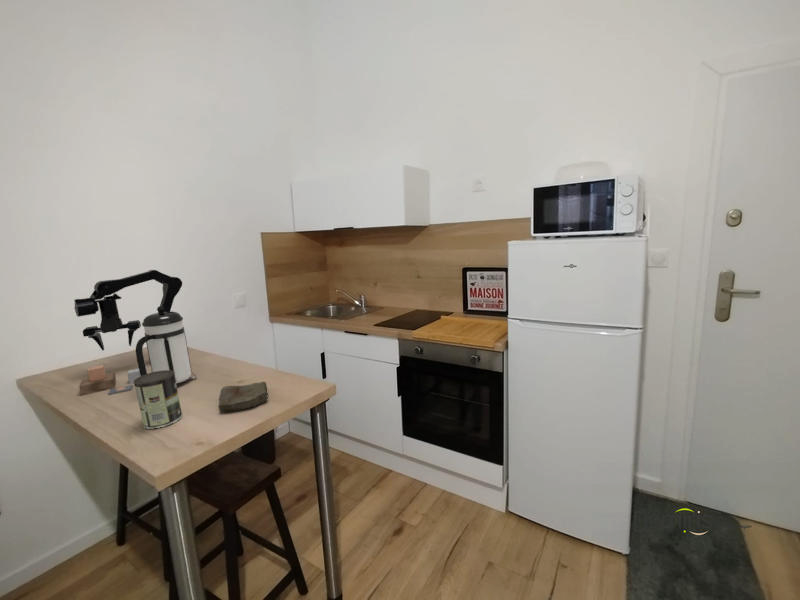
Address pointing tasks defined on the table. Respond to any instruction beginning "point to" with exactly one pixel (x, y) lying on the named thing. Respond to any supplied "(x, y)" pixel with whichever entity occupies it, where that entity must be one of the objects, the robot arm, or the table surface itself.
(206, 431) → the table surface
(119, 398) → the table surface
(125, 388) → the card
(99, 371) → the terracotta cube
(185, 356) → the coffee press
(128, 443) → the table surface
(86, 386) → the walnut block
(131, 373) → the grey cube
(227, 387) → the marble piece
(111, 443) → the table surface
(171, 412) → the coffee can
